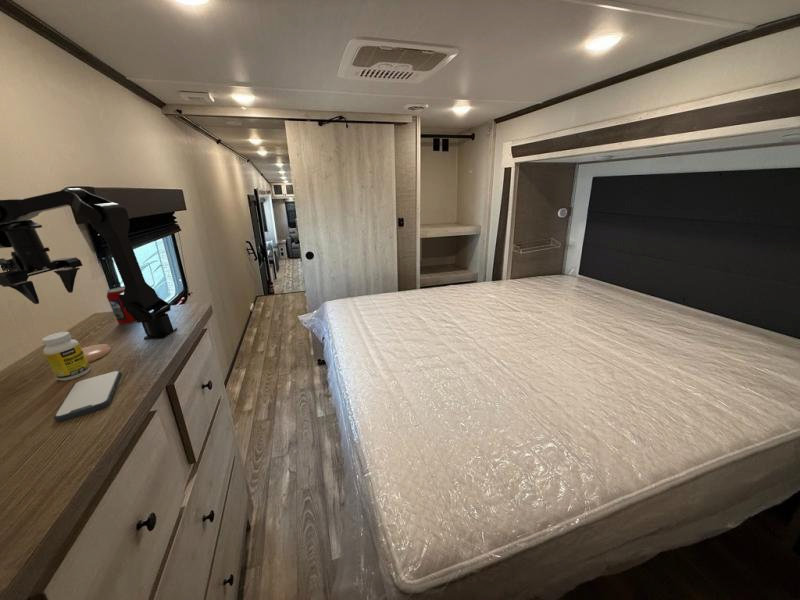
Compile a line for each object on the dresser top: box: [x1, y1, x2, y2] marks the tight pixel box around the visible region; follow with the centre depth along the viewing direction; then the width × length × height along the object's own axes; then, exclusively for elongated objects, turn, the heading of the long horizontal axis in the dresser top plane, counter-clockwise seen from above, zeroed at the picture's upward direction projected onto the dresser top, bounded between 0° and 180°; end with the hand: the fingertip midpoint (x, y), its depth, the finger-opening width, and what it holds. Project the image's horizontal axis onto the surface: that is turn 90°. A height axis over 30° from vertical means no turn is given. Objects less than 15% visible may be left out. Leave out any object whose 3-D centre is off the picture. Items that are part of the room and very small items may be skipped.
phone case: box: [53, 370, 122, 423], centre depth 71 cm, size 9×2×16 cm
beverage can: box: [106, 286, 135, 325], centre depth 109 cm, size 7×7×12 cm
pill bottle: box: [41, 331, 91, 381], centre depth 78 cm, size 6×6×11 cm
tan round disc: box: [81, 343, 112, 364], centre depth 89 cm, size 11×11×1 cm
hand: (54, 297), depth 94 cm, fingers open, 9 cm apart
